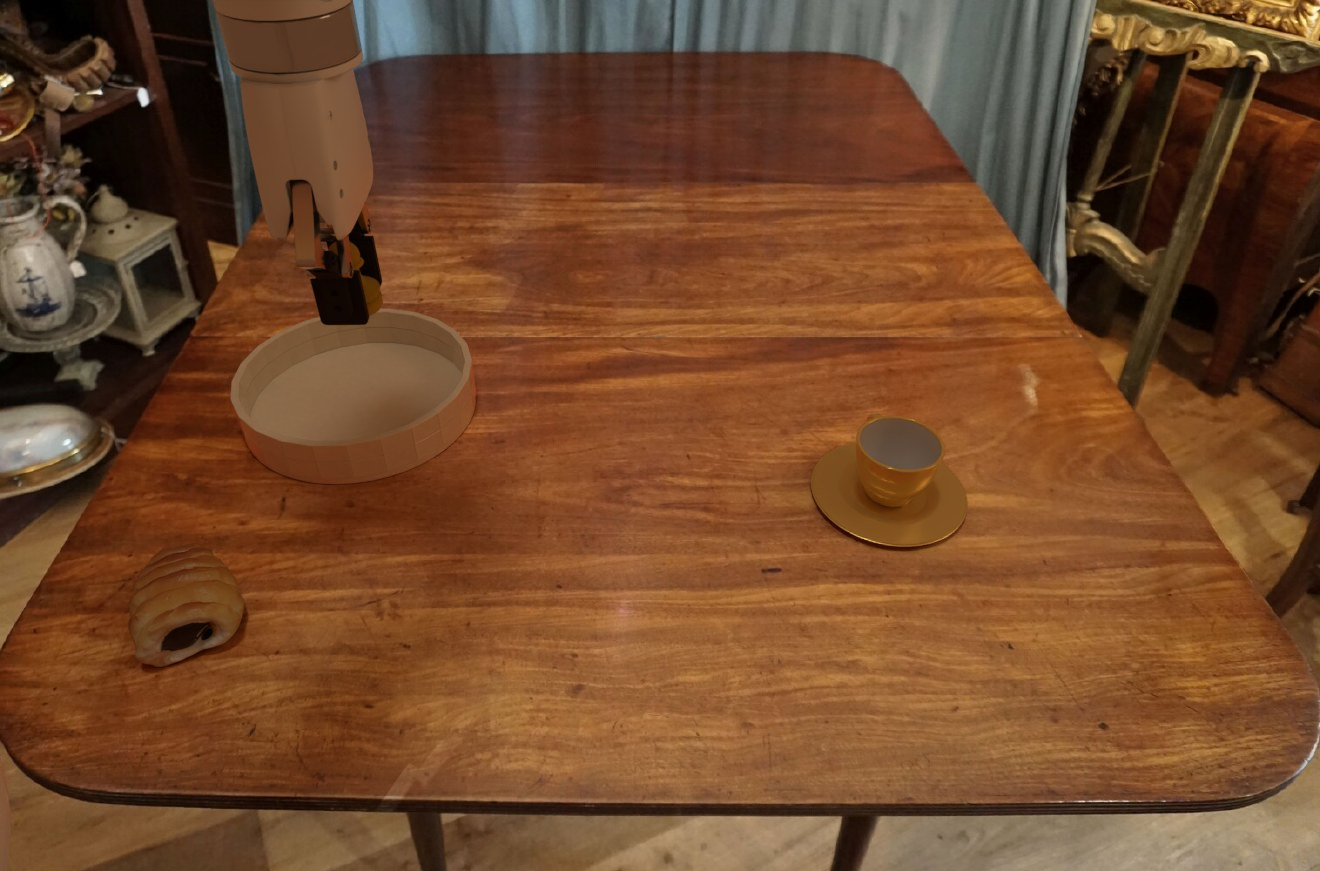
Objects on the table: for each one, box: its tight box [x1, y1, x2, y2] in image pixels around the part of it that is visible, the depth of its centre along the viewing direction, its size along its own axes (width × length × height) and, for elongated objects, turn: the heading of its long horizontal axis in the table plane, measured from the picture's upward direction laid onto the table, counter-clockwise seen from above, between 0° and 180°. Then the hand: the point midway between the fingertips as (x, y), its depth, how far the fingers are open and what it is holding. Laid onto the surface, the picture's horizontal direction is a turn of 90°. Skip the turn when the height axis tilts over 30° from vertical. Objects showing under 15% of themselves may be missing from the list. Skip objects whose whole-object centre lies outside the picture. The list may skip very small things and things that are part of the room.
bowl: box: [230, 307, 477, 485], centre depth 79 cm, size 19×19×4 cm
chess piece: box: [327, 242, 384, 316], centre depth 65 cm, size 4×4×5 cm
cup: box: [810, 413, 969, 548], centre depth 71 cm, size 12×12×5 cm
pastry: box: [127, 542, 245, 668], centre depth 62 cm, size 9×7×4 cm
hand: (352, 302), depth 66 cm, fingers closed on chess piece, 4 cm apart
